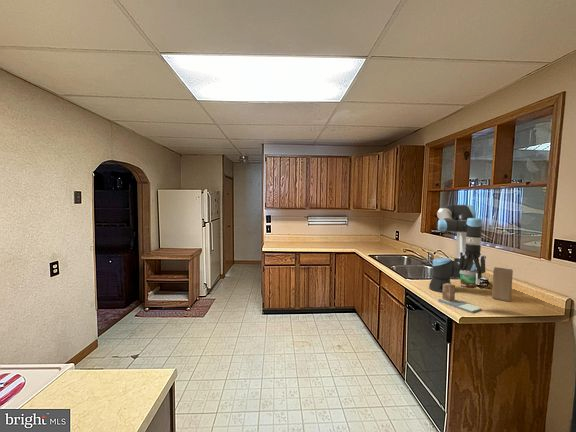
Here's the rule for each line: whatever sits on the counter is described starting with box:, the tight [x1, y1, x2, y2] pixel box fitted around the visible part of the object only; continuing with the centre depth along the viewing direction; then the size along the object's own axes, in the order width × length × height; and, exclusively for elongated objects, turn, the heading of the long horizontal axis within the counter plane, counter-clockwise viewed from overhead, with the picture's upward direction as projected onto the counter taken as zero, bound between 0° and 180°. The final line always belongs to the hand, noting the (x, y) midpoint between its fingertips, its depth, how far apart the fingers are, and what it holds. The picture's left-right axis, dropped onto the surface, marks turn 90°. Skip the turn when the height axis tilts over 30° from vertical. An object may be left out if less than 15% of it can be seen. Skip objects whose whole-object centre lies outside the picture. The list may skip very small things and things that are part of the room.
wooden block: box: [491, 266, 513, 303], centre depth 187 cm, size 10×10×20 cm
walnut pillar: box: [441, 283, 456, 302], centre depth 179 cm, size 5×5×10 cm
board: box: [437, 298, 482, 314], centre depth 173 cm, size 21×10×1 cm, turn 27°
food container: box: [459, 269, 478, 289], centre depth 166 cm, size 12×6×10 cm, turn 106°
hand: (471, 282), depth 167 cm, fingers closed on food container, 6 cm apart
